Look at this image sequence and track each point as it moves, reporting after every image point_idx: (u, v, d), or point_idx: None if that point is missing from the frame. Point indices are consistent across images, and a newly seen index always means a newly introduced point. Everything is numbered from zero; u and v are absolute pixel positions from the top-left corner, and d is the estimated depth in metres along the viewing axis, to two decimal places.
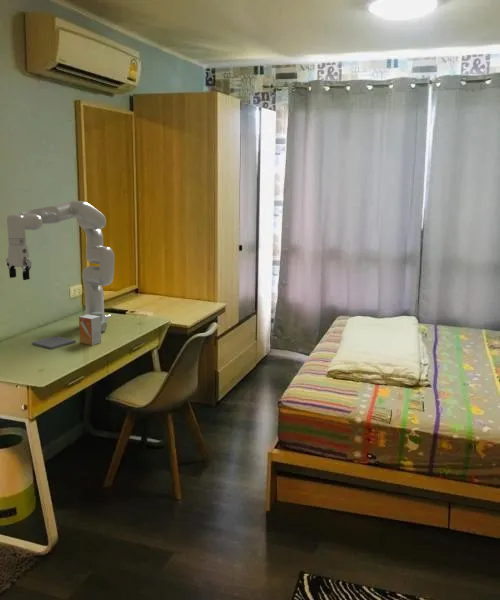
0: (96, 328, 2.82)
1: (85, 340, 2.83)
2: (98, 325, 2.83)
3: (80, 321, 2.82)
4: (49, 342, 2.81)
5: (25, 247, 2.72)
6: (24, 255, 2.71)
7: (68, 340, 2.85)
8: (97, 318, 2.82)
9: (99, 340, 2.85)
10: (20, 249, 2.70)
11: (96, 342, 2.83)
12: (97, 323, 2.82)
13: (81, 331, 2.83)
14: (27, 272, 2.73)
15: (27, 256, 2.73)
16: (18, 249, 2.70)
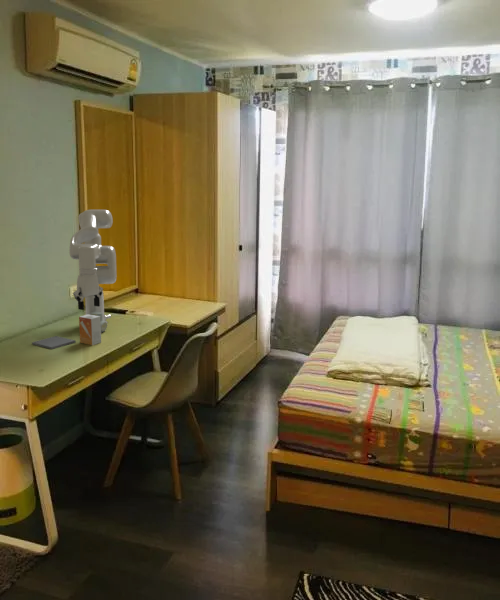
0: (96, 328, 2.82)
1: (85, 340, 2.83)
2: (98, 325, 2.83)
3: (80, 321, 2.82)
4: (49, 342, 2.81)
5: None
6: None
7: (68, 340, 2.85)
8: (97, 318, 2.82)
9: (99, 340, 2.85)
10: None
11: (96, 342, 2.83)
12: (97, 323, 2.82)
13: (81, 331, 2.83)
14: None
15: None
16: (96, 277, 2.80)
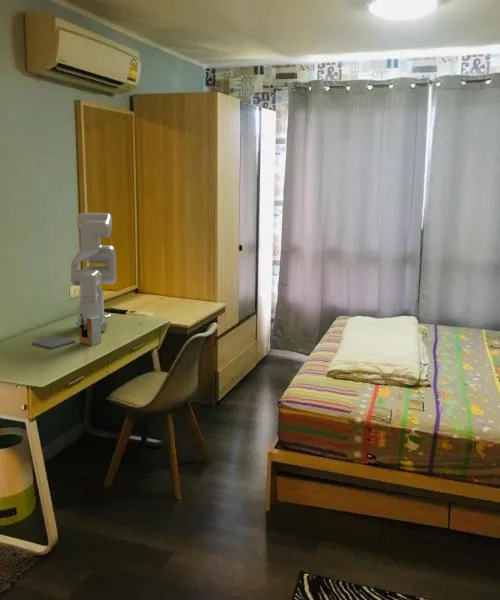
0: (96, 328, 2.82)
1: (85, 340, 2.83)
2: (98, 325, 2.83)
3: None
4: (49, 342, 2.81)
5: None
6: None
7: (68, 340, 2.85)
8: (97, 318, 2.82)
9: (99, 340, 2.85)
10: None
11: (96, 342, 2.83)
12: (97, 323, 2.82)
13: (81, 331, 2.83)
14: None
15: None
16: (98, 304, 2.83)
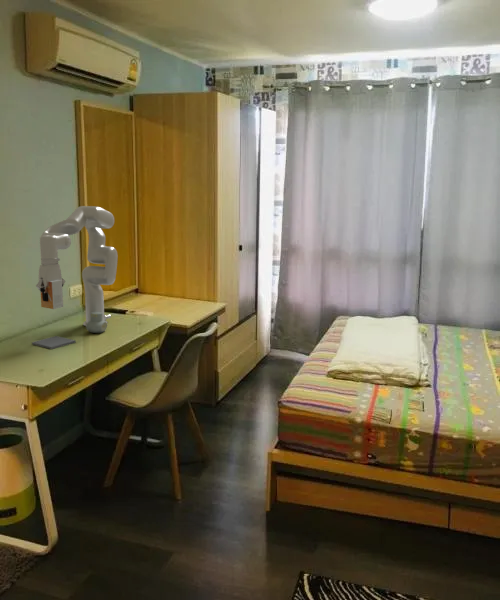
0: (57, 292, 2.76)
1: (46, 304, 2.77)
2: (59, 289, 2.77)
3: (41, 284, 2.76)
4: (49, 342, 2.81)
5: None
6: None
7: (68, 340, 2.85)
8: (58, 281, 2.76)
9: (61, 304, 2.79)
10: (59, 267, 2.78)
11: (57, 306, 2.77)
12: (58, 287, 2.76)
13: None
14: None
15: None
16: (59, 267, 2.78)
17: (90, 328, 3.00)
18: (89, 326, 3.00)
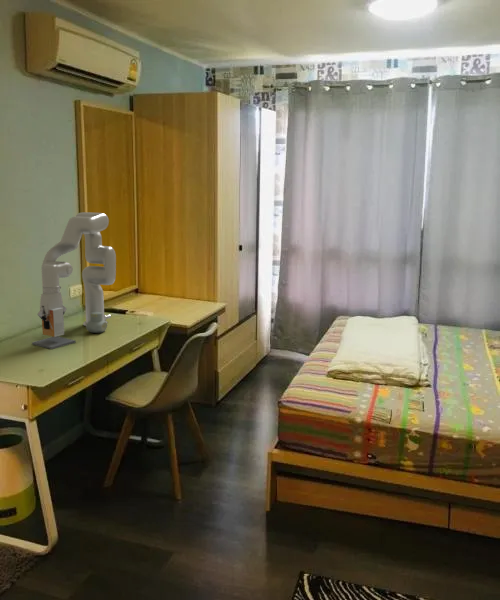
0: (59, 320, 2.79)
1: (47, 332, 2.79)
2: (61, 317, 2.80)
3: (43, 312, 2.79)
4: (49, 342, 2.81)
5: None
6: None
7: (68, 340, 2.85)
8: (59, 310, 2.79)
9: (62, 332, 2.81)
10: None
11: (58, 334, 2.80)
12: (59, 315, 2.79)
13: (43, 323, 2.80)
14: None
15: None
16: (60, 296, 2.80)
17: (90, 328, 3.00)
18: (89, 326, 3.00)
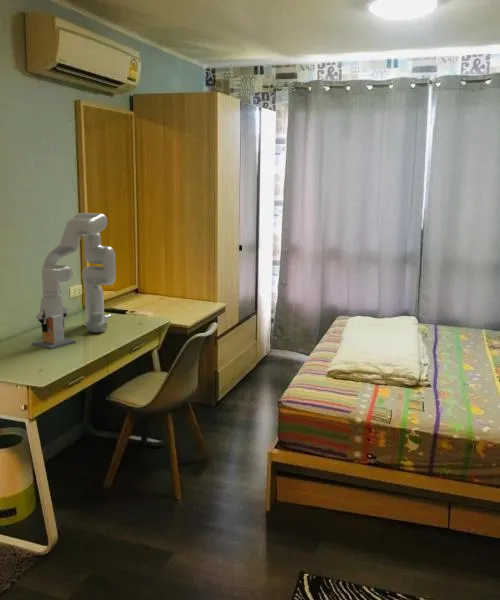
0: (58, 327, 2.79)
1: (47, 339, 2.80)
2: (61, 324, 2.80)
3: None
4: None
5: None
6: None
7: (68, 340, 2.85)
8: (59, 317, 2.79)
9: (62, 339, 2.82)
10: (61, 299, 2.82)
11: (58, 341, 2.80)
12: (59, 322, 2.79)
13: None
14: None
15: None
16: (60, 299, 2.81)
17: (90, 328, 3.00)
18: (89, 326, 3.00)
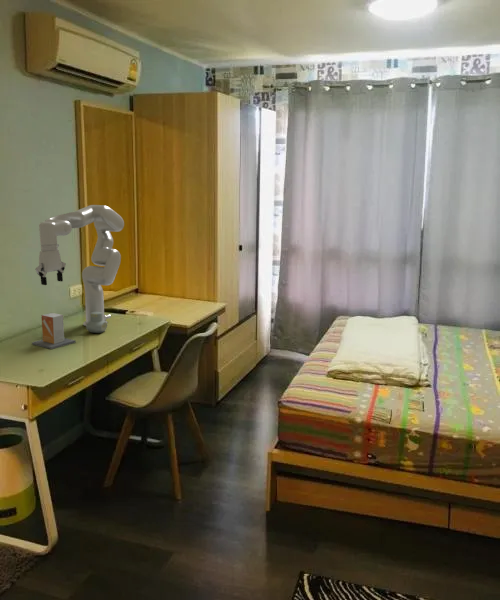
0: (58, 327, 2.79)
1: (47, 339, 2.80)
2: (61, 324, 2.80)
3: (43, 319, 2.79)
4: None
5: None
6: None
7: (68, 340, 2.85)
8: (59, 317, 2.79)
9: (62, 339, 2.82)
10: (59, 253, 2.87)
11: (58, 341, 2.80)
12: (59, 322, 2.79)
13: (43, 330, 2.80)
14: None
15: None
16: (58, 253, 2.86)
17: (90, 328, 3.00)
18: (89, 326, 3.00)
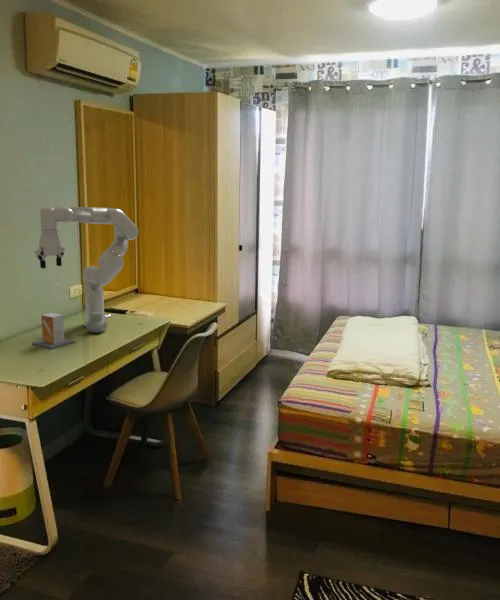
0: (58, 327, 2.79)
1: (47, 339, 2.80)
2: (61, 324, 2.80)
3: (43, 319, 2.79)
4: None
5: None
6: None
7: (68, 340, 2.85)
8: (59, 317, 2.79)
9: (62, 339, 2.82)
10: (58, 238, 2.98)
11: (58, 341, 2.80)
12: (59, 322, 2.79)
13: (43, 330, 2.80)
14: None
15: None
16: (58, 238, 2.97)
17: (90, 328, 3.00)
18: (89, 326, 3.00)
